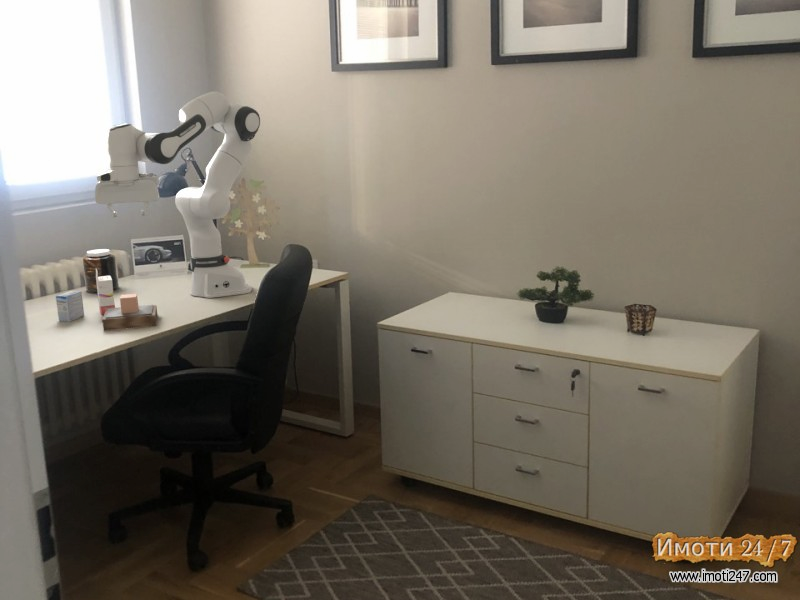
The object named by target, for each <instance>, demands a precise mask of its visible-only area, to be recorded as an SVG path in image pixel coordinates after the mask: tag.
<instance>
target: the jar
mask: <svg viewBox="0 0 800 600" xmlns="http://www.w3.org/2000/svg"><path fill="white" fill-rule="evenodd" d="M82 265H83V276H84V282H85V291H86V293H94V294H95V293H97V294H98V292H97V283H96V269H97V272H98V277H101V276H111V278H112V284H113V291H116V290H118V289H119V286H120V284H119V276H118V268H117V261H116V255H114V254H112V253H111V250H110V249H107V248H100V249H98V248H97V249H92V250H87V251H86V256H84V257H83V258H82Z"/></svg>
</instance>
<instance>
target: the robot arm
mask: <svg viewBox="0 0 800 600" xmlns="http://www.w3.org/2000/svg"><path fill="white" fill-rule="evenodd" d="M178 112H179V113H178V119H179V123H180V124H179V125H178V126H176V127H175V128H174V129H171V130H170V131H169V132H158V133H157V132H146V131H142V130H140V129H138V128H136V127H135V126H133V125H132V123H126V122H125V123H119V124H115V125H112V126H110V127H109V129H108V132H107V152H108V154H109V157H110V163H109V166H110V167H109V168H110V170H106V171H103V172H101V173H99V174H97V175H96V179H97V183H96V184H95V187H94V200H95V203H96V204H97V205H106V206H107V209H108V210H109V212H110V213H111V218H118V212H117V211H114V209H113V208H112V207H113V205H115V204H129V203H144V206H145V208H144V209H141V216H142V217H143V216H147V211H148V208H149V205H150V202H157V201H159V199H160V192H159V183H160V180H159V176H158V175H157V174H154V173H153V172H151V173H140V170H139V168H140V167H139V162H141V163H151V164H152V163H153V164H159V165H167V164H170V163H172V162H173V161H174V160H175V158H176V157H177V155H178V154H179V152H180V151H181V150H182V149H183V148H184V147H185V146H186V145H188V144H189V143H191V142H192V141H193V140H195V139H196V138H198V136H200V135H201V134H202V133H204V132H206V131H207V130H209V129H211V130H213V131H214V132H217V133H222V134H224V138H223V141H222V143H221V144H220V146H218V148H217V149H216V151H215V153H214V155H213V156H212V158H211V159H210V161H209V162H208V164H207V166H206V167H205V174H206V178H205V181H204V184H203V185H202V186H201V187H200V186H189V187H185V188H182V189H180V190H179V191H178V192H177V193H176V195H175V200H174V204H175V207H176V209H177V210H178V211H179V212H180V215H182V218H183V220H184V223H185V226H186V229H187V232H188V236H189V243H190V244H189V245H190V252H191V253H190V254H191V256H190V259H189V260H190V270H191V272H192V273H191V274H192V275H191V286H190V287H191V288H190V291H189V292H190V293H189V294H190V295H191V296H194V297H202V298H205V299H214V298H219V297H220V298H221V297H229V296H236V295H244V294H249V293H251V292H252V290H253V289H252V285H250V284H249V283H246V279H245V276H244V274H243V272H242V271H240V270H238V269H237V268H236V267H234V266H233V265H231V264H229V262H230V257H229V256H228V255H227V254H224V253H223V250H222V238H221V233H220V230H219V229H217V227H216V225H215V223H214V220H217V219H221V218H224V217H226V216H227V215H228V213H229V212H230V210H231V200H230V192H231V190H232V187H233V184H234V183H235V180H236V179H237V178H238V176H239V174H240V173H241V171H242V169H243V168H244V167H245V164H246V162H247V160H248V158H249V155H250V154H251V150H252V142H251V141H252V140H253V139H254V138H255V137H256V134H257V133H258V131H259V128H260V126H261V118H260V117H261V116H260V114H259V112H258V111H257V110H256V109H255V108H252V107H250V106H248V105H247V106H246V105H241V104H237V103H229V101H228V99H227V97H226V96H225V95H224V94H223V93H222V92H219V91H215V90H214V91H210V92H207V93H204V94H201V95H200V96H198V97H195V98H193V99H192V100H190V101H189V102H188V101H187V103H185V104H184V105H183V106H182V107H181V108H180V110H179V111H178Z"/></svg>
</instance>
